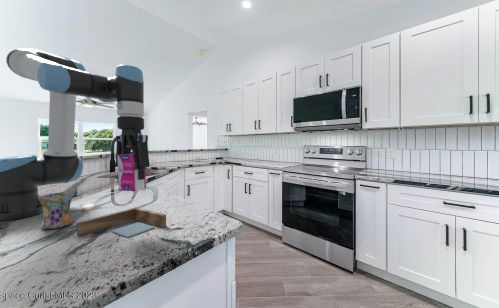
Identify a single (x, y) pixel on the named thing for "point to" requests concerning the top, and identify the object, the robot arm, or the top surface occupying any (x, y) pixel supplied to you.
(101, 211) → the top surface
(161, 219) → the wooden l-shaped corner
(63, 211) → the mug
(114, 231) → the pad
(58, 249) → the top surface
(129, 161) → the supplement box
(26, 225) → the top surface
